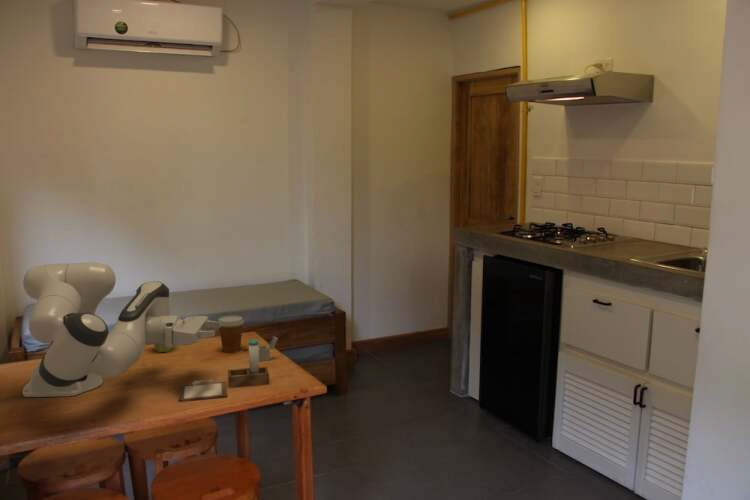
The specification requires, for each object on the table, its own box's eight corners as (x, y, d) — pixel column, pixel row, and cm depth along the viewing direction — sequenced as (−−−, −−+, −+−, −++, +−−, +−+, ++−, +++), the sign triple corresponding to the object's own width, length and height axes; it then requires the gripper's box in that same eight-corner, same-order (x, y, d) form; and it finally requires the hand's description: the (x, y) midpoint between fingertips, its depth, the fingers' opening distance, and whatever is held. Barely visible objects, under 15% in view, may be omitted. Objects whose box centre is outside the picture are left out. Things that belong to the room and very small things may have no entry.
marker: (249, 383, 202) (248, 342, 200) (249, 380, 205) (248, 339, 203) (259, 382, 203) (258, 342, 201) (259, 379, 206) (258, 339, 204)
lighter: (258, 361, 223) (257, 339, 222) (257, 360, 224) (256, 338, 223) (278, 359, 226) (277, 337, 224) (277, 357, 227) (276, 335, 226)
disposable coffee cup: (224, 345, 241) (222, 314, 239) (248, 346, 239) (247, 315, 237) (214, 353, 231) (213, 321, 229) (239, 354, 230) (238, 322, 228)
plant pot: (167, 344, 242) (166, 322, 240) (183, 349, 236) (182, 326, 235) (145, 351, 234) (144, 328, 233) (161, 355, 229) (160, 332, 227)
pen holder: (228, 387, 199) (228, 376, 198) (228, 380, 205) (227, 369, 204) (269, 384, 202) (268, 373, 201) (267, 376, 208) (266, 366, 208)
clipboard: (178, 401, 188) (178, 396, 187) (180, 387, 199) (179, 382, 199) (227, 397, 191) (226, 392, 191) (225, 383, 203) (225, 378, 202)
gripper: (181, 330, 211) (223, 329, 212) (165, 349, 191) (211, 348, 192) (180, 311, 210) (223, 311, 211) (164, 329, 190) (210, 328, 191)
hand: (217, 329), depth 201 cm, fingers open, 8 cm apart
